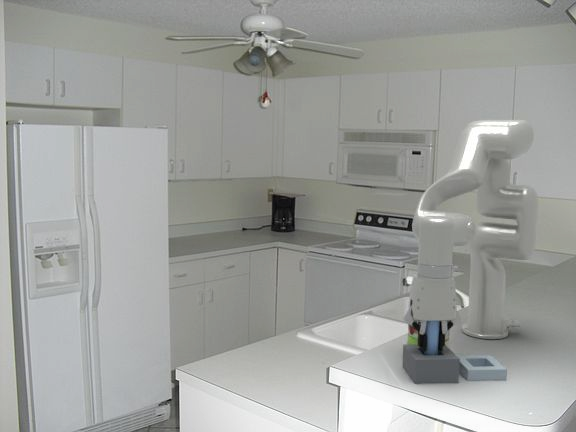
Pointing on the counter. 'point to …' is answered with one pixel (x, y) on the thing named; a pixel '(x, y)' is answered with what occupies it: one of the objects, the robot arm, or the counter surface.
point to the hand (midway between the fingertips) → (430, 348)
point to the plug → (432, 337)
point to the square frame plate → (481, 368)
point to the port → (430, 365)
